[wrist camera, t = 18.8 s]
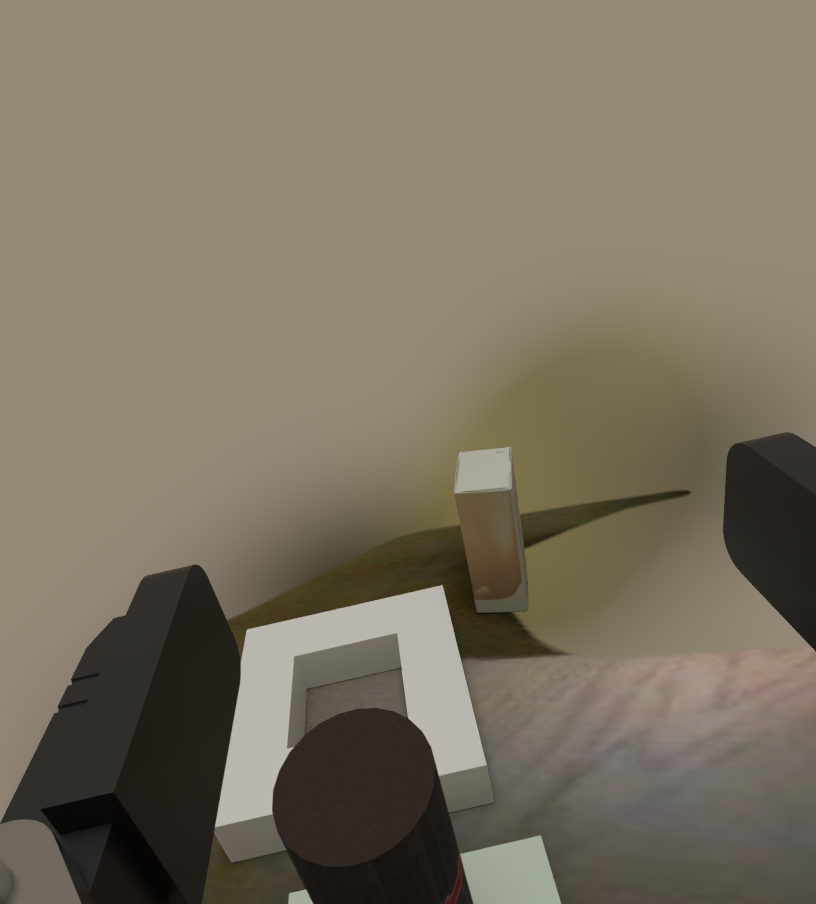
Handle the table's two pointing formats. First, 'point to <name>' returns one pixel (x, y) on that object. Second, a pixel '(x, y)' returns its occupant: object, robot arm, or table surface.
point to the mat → (500, 875)
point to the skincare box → (492, 530)
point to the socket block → (333, 660)
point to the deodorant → (368, 814)
